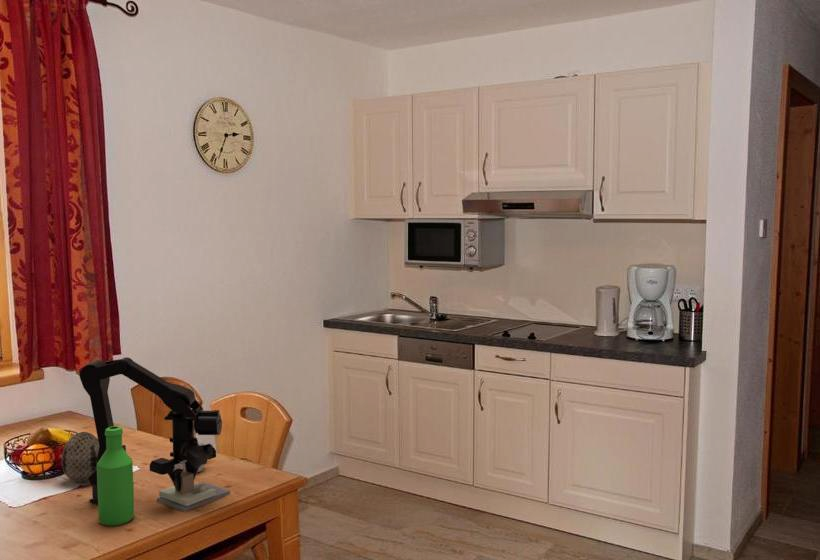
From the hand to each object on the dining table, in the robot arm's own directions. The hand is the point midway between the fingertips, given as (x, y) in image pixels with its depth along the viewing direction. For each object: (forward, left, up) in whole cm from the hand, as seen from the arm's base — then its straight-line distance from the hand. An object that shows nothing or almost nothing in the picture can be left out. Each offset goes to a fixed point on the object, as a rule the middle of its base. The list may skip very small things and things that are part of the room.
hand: (184, 488), depth 213 cm
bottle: (-19, +4, -4) cm, 20 cm away
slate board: (+3, 0, -4) cm, 5 cm away
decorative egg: (-8, +37, -4) cm, 38 cm away
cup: (+16, +18, -4) cm, 25 cm away
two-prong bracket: (+1, 0, -2) cm, 3 cm away
